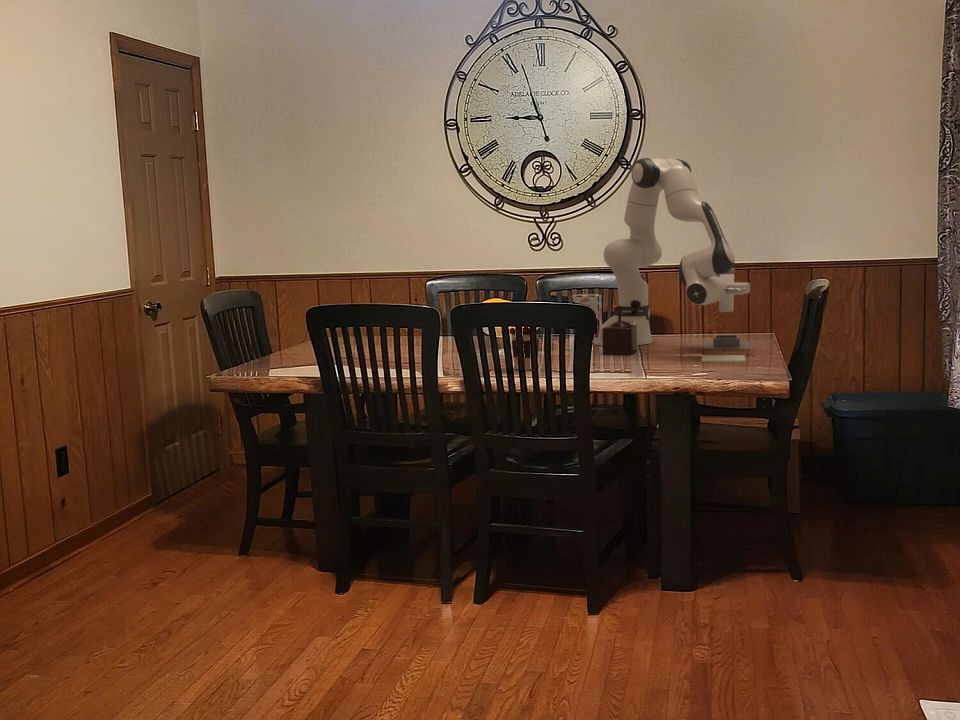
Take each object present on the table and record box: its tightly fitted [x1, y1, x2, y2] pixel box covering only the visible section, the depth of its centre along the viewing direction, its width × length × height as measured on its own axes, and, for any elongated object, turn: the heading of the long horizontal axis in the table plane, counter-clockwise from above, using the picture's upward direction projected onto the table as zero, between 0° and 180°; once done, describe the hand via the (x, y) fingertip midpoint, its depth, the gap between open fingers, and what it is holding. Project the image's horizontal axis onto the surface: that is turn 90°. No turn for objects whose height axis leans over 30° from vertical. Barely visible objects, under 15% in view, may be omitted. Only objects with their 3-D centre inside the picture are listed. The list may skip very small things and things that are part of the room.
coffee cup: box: [509, 327, 541, 371], centre depth 342 cm, size 10×10×15 cm
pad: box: [701, 353, 746, 363], centre depth 351 cm, size 14×14×1 cm
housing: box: [702, 334, 751, 350], centre depth 374 cm, size 16×16×4 cm
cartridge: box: [718, 268, 736, 313], centre depth 372 cm, size 5×5×15 cm
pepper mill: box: [602, 300, 641, 356], centre depth 372 cm, size 16×11×18 cm
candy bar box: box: [571, 293, 603, 337], centre depth 417 cm, size 11×5×16 cm, turn 71°
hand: (727, 285), depth 372 cm, fingers closed on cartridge, 5 cm apart
